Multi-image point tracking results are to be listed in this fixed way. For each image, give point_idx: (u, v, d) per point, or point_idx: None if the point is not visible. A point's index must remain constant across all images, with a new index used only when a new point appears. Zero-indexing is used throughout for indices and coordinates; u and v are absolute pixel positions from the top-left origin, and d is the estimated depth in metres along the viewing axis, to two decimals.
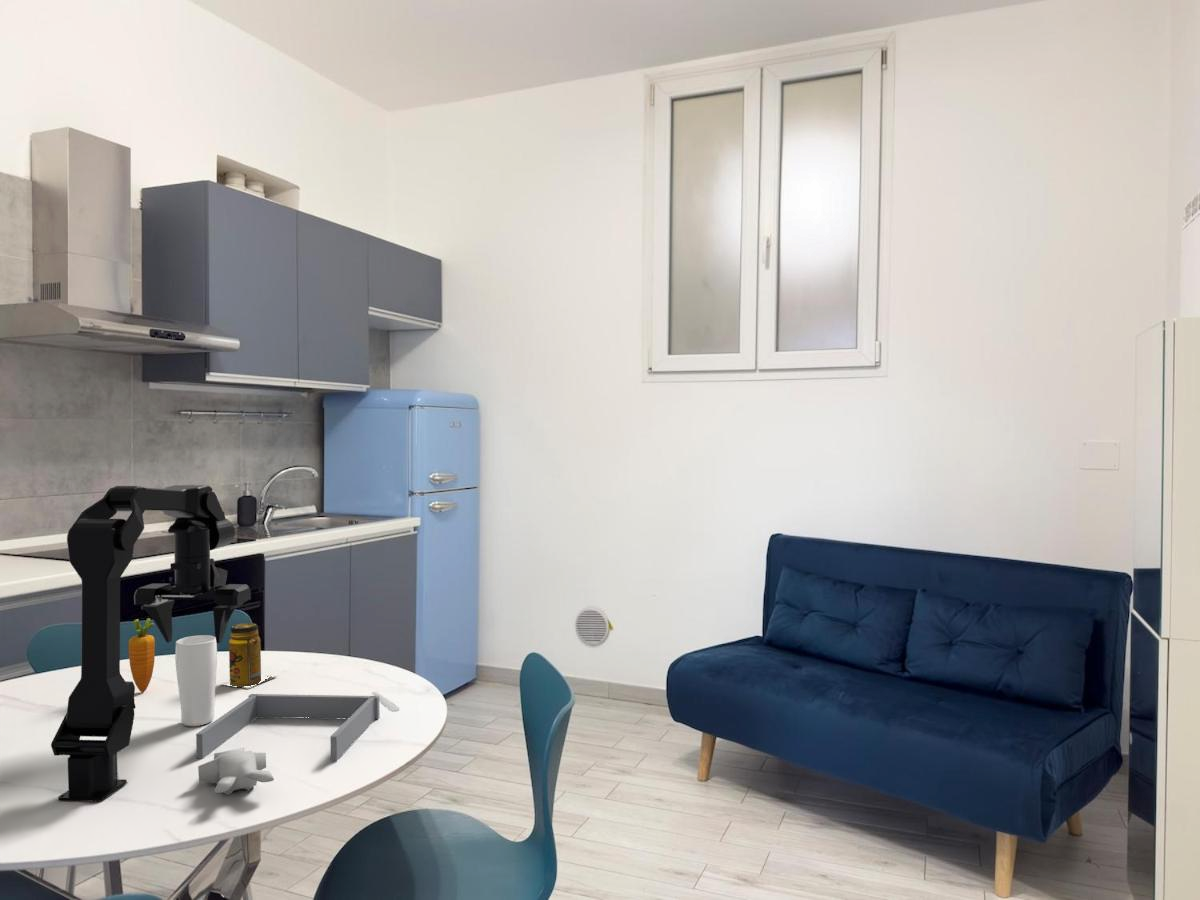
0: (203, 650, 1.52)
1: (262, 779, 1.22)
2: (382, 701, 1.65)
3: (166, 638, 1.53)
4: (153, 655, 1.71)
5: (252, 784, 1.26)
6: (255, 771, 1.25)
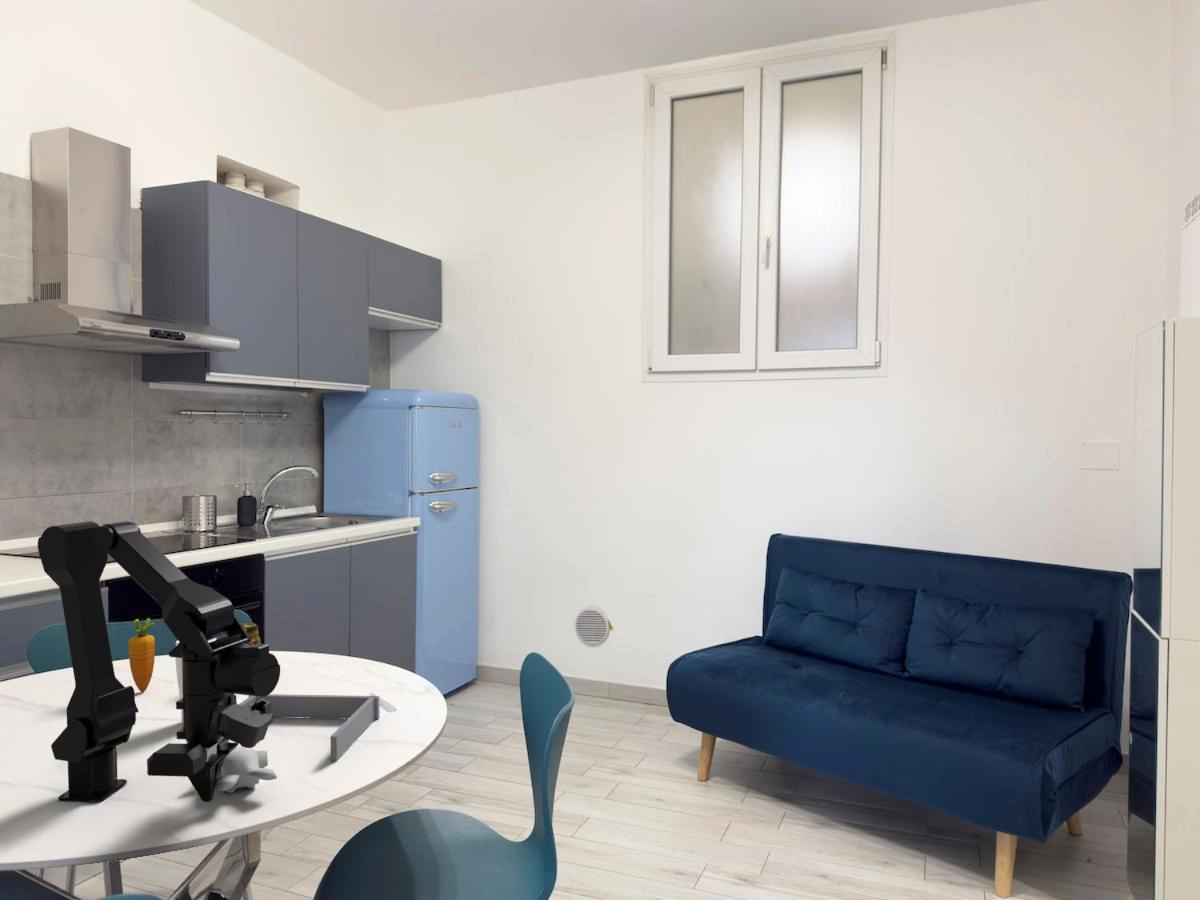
0: None
1: (265, 777, 1.23)
2: (379, 702, 1.65)
3: None
4: (153, 655, 1.71)
5: (254, 782, 1.26)
6: (258, 769, 1.25)
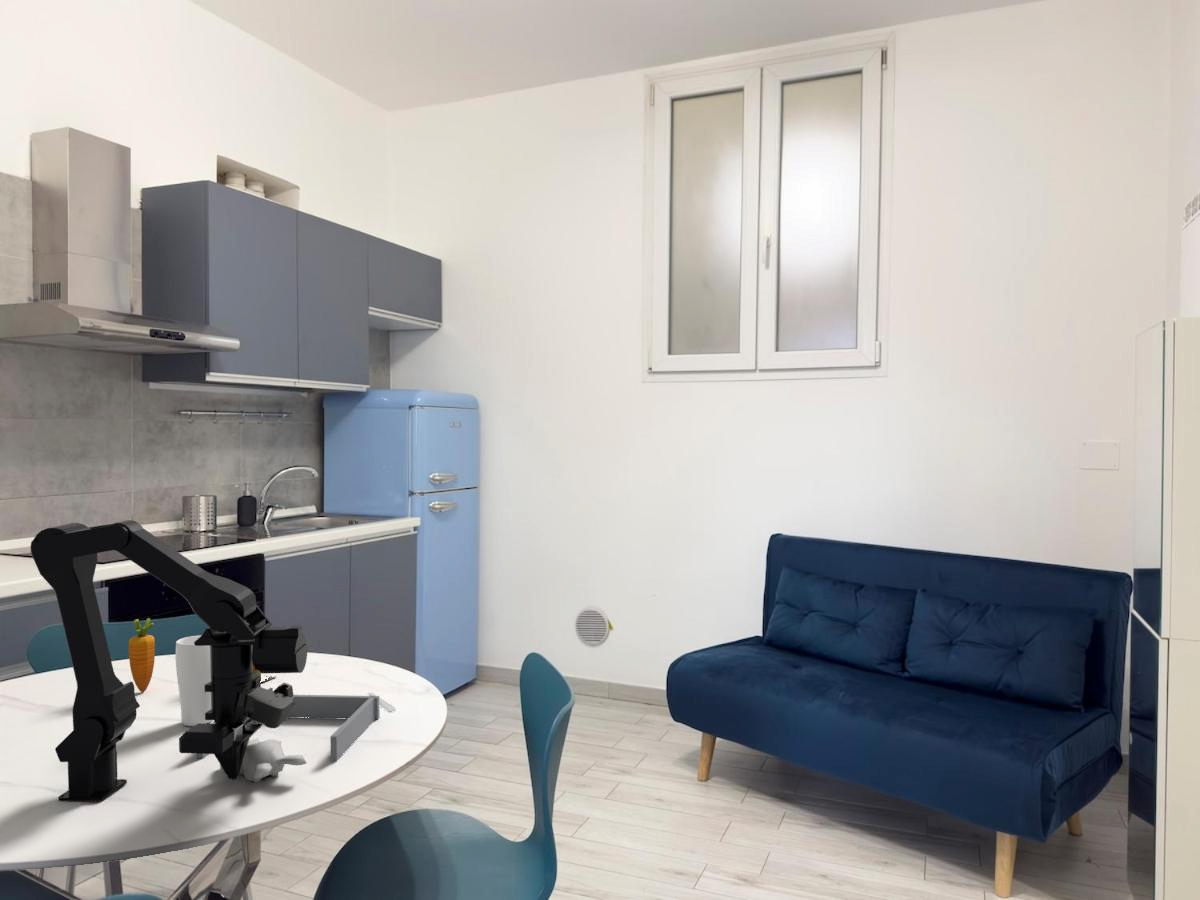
0: (203, 650, 1.52)
1: (297, 762, 1.28)
2: None
3: None
4: (153, 655, 1.71)
5: (279, 770, 1.31)
6: (285, 756, 1.30)
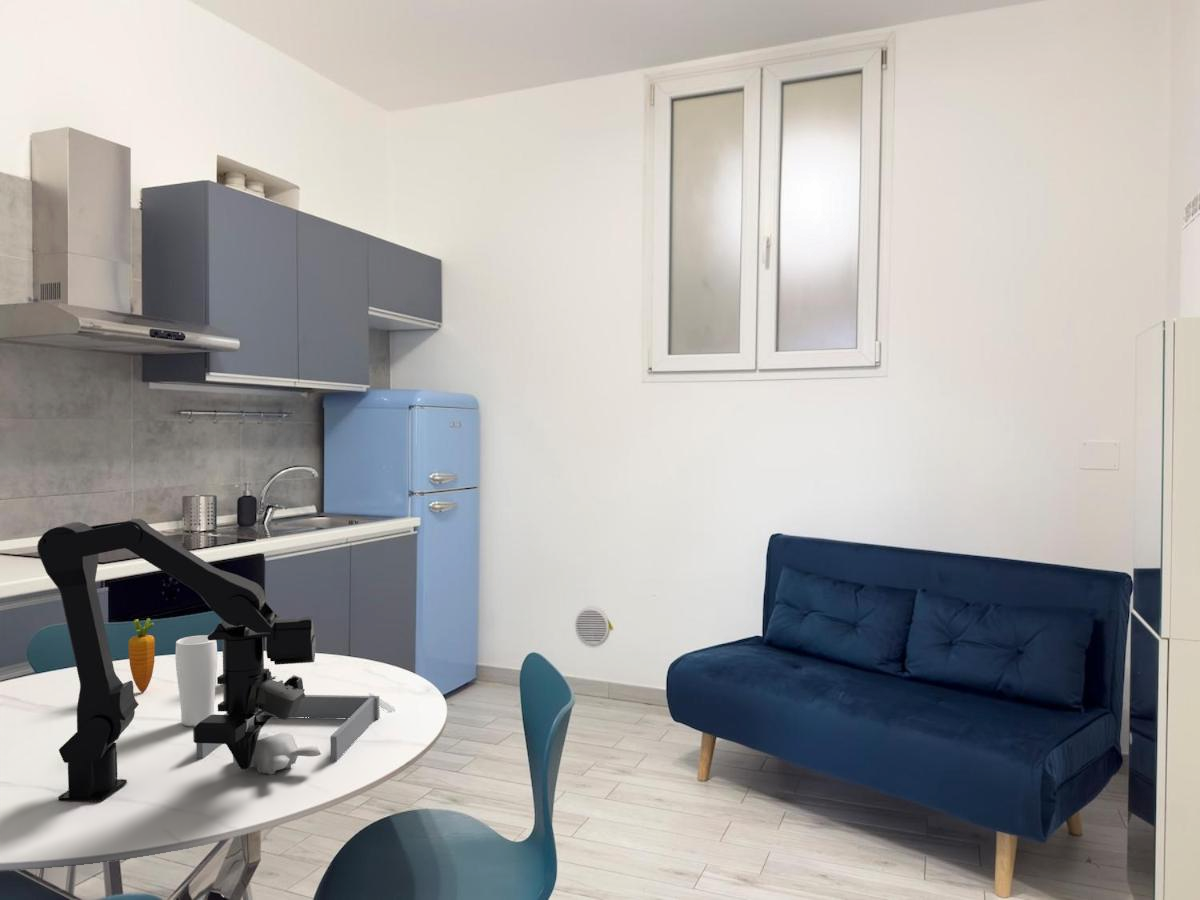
0: (203, 650, 1.52)
1: (313, 753, 1.31)
2: None
3: None
4: (153, 655, 1.71)
5: (293, 762, 1.34)
6: (299, 748, 1.33)
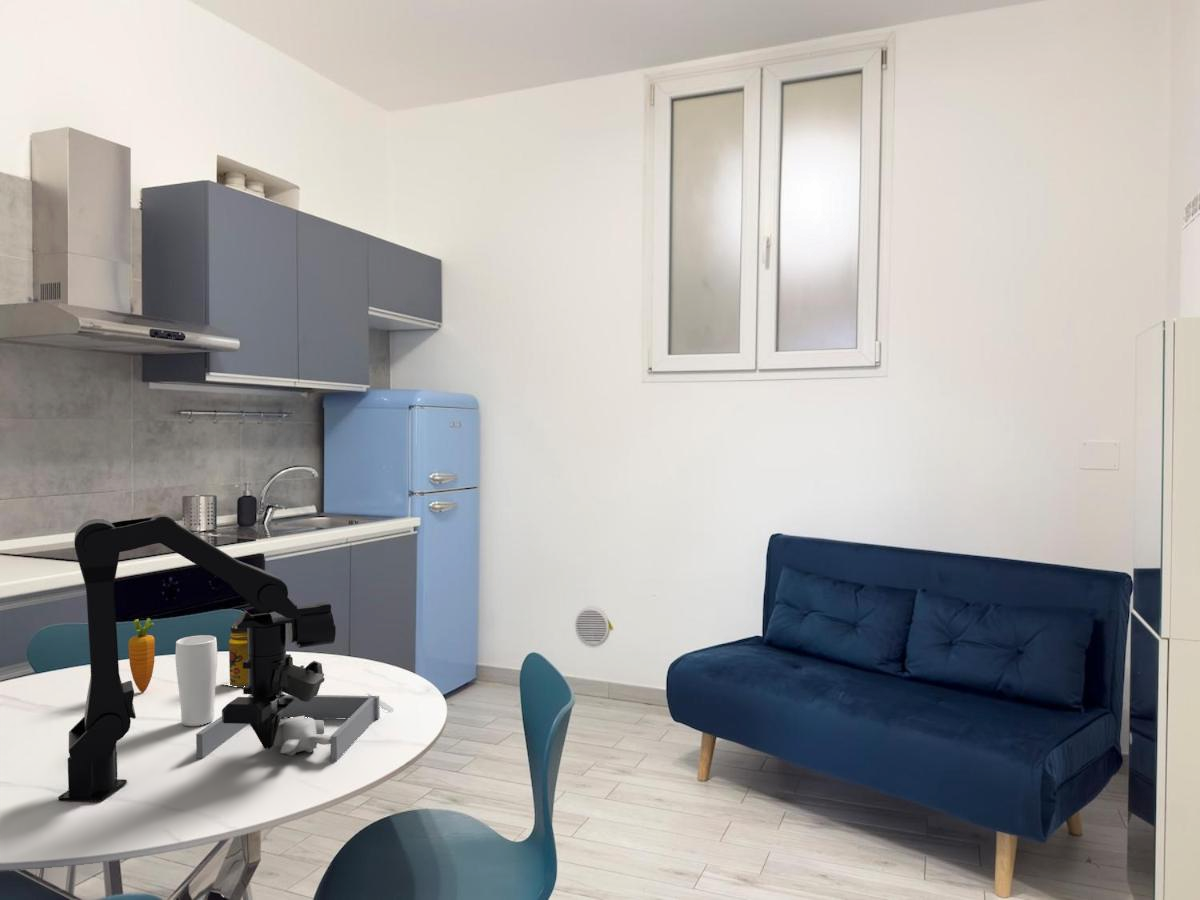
0: (203, 650, 1.52)
1: (322, 742, 1.36)
2: None
3: None
4: (153, 655, 1.71)
5: (313, 747, 1.40)
6: (316, 735, 1.39)
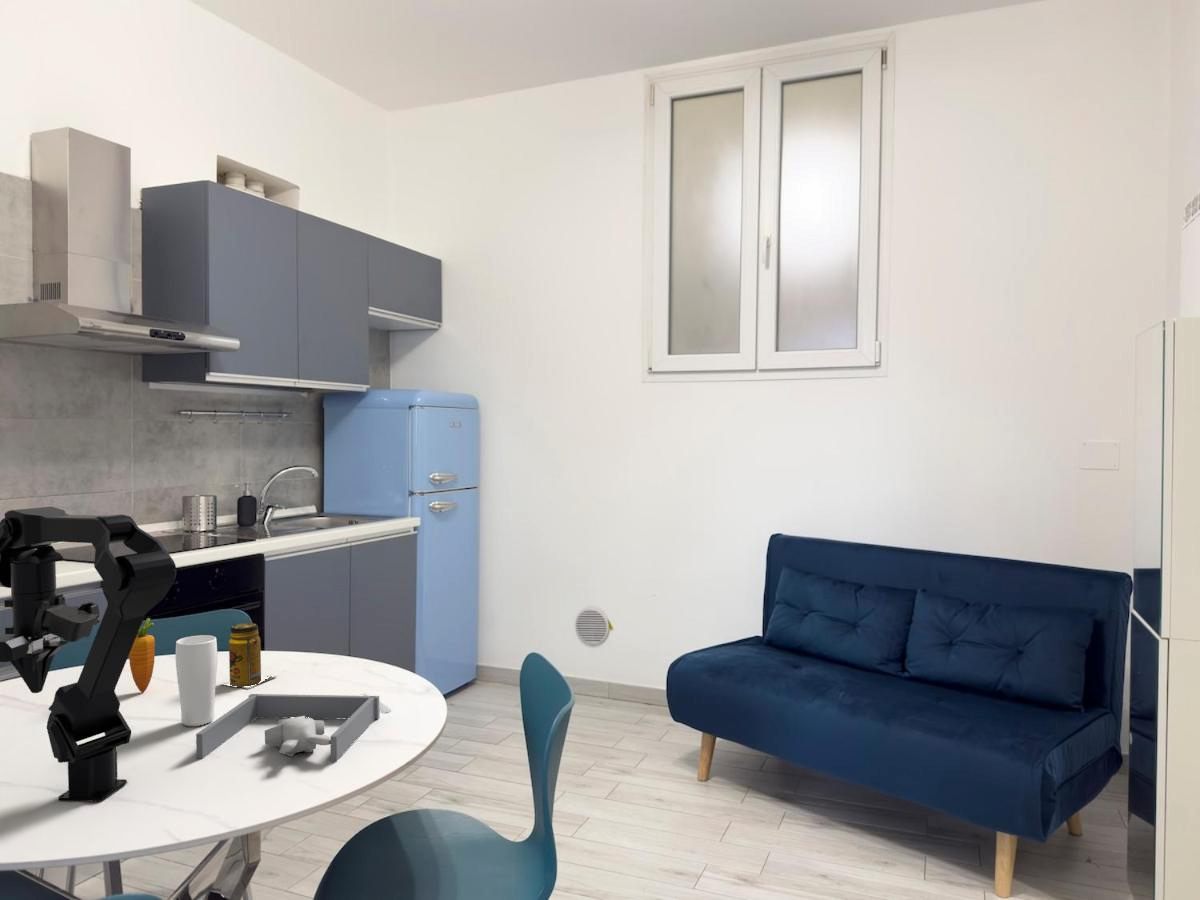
0: (203, 650, 1.52)
1: (321, 742, 1.36)
2: None
3: None
4: (153, 655, 1.71)
5: (312, 747, 1.40)
6: (315, 735, 1.39)
